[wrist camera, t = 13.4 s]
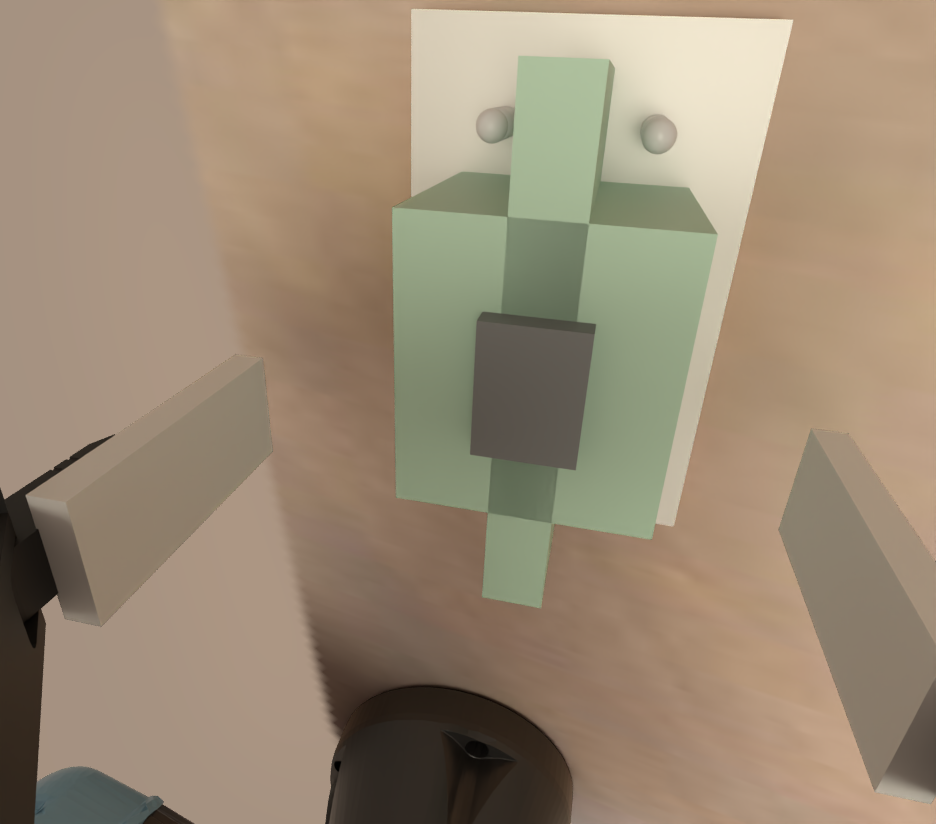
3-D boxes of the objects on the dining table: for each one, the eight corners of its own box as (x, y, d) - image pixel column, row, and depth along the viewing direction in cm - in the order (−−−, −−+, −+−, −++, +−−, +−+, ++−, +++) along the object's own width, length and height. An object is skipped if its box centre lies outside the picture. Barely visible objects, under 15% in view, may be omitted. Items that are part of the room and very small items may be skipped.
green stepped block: (631, 490, 28) (633, 644, 20) (451, 463, 29) (389, 597, 21) (711, 72, 20) (761, 63, 13) (465, 62, 22) (378, 49, 14)
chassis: (671, 507, 29) (679, 579, 25) (419, 467, 31) (386, 528, 27) (782, 23, 21) (824, 7, 16) (423, 13, 23) (375, -5, 18)
